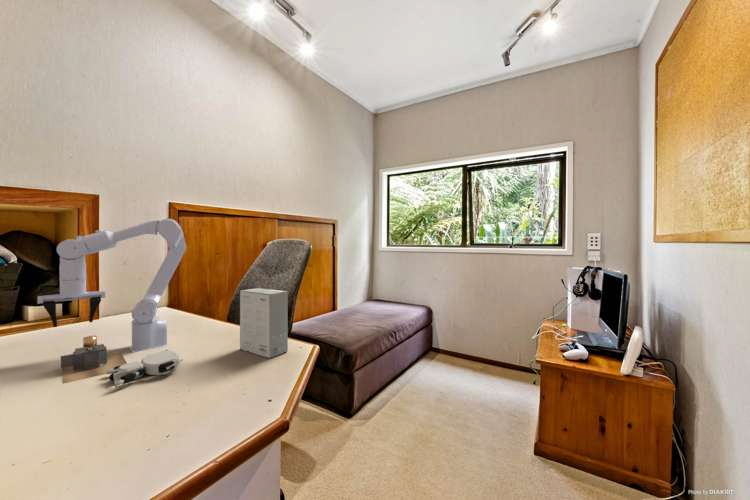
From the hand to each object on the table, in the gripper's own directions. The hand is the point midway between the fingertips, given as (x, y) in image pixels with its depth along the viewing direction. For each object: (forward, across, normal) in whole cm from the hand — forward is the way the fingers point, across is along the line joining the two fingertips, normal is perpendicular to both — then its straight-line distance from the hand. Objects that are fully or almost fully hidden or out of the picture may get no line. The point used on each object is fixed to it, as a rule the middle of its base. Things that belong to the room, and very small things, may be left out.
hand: (73, 323), depth 93 cm
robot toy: (+11, -13, +30) cm, 35 cm away
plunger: (+9, -3, +13) cm, 16 cm away
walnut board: (+10, -4, +14) cm, 18 cm away
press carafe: (+10, -2, +13) cm, 16 cm away
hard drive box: (+11, -44, +34) cm, 56 cm away
